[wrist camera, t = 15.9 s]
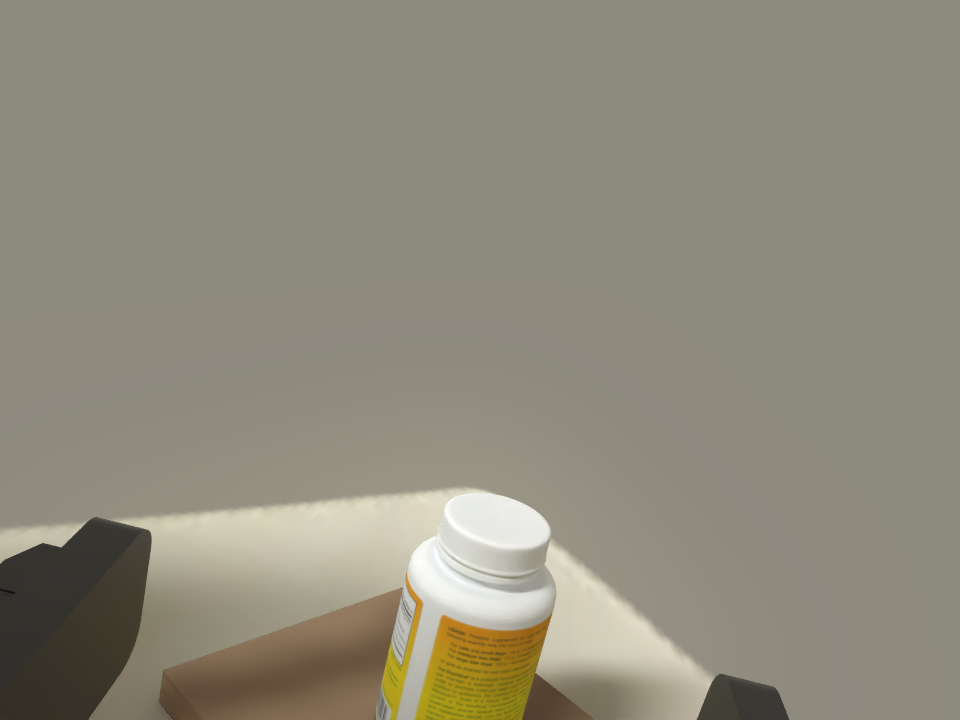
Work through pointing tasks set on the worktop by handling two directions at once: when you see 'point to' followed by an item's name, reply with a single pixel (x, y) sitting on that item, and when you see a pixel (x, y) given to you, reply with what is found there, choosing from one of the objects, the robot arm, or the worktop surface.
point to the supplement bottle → (471, 615)
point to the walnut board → (312, 673)
